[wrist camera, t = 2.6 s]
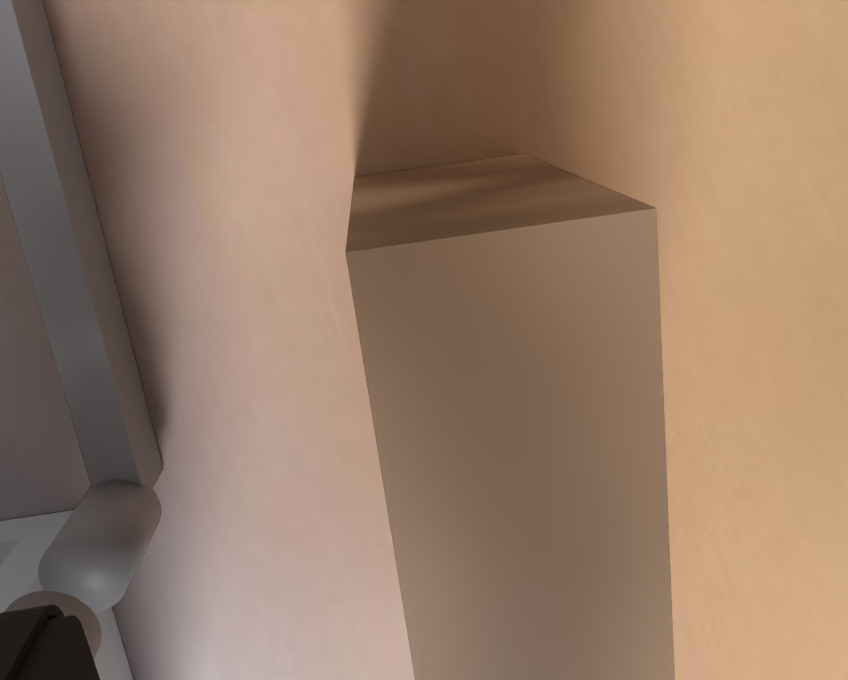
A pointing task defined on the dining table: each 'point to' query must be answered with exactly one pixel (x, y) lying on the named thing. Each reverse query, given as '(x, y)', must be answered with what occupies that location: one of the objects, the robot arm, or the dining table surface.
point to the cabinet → (73, 356)
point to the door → (518, 417)
